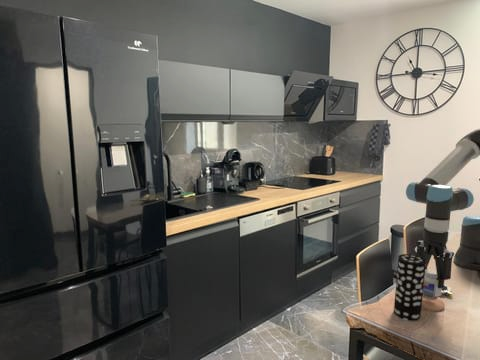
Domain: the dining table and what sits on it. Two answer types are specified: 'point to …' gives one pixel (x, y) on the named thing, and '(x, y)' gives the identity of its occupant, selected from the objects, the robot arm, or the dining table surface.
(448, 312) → the dining table surface
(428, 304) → the peach disc
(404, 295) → the spotted tube
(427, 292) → the pill bottle
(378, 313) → the dining table surface
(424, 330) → the dining table surface
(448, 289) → the collar
